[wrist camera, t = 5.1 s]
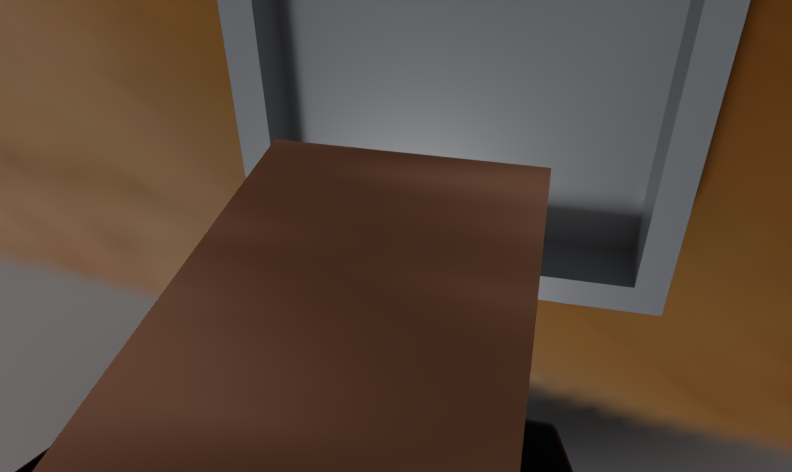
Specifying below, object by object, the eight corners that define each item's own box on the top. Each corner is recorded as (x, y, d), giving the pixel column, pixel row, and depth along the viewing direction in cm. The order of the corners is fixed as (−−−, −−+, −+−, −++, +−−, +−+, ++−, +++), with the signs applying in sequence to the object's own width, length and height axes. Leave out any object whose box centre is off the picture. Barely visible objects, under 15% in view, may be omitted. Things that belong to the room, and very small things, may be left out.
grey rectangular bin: (770, -189, 14) (798, -170, 12) (655, 256, 20) (661, 316, 18) (238, -196, 16) (188, -181, 14) (288, 212, 22) (259, 262, 20)
